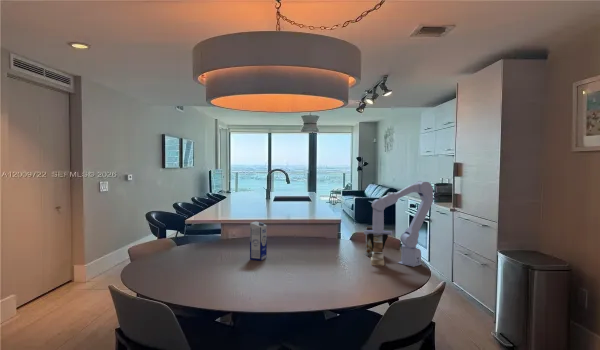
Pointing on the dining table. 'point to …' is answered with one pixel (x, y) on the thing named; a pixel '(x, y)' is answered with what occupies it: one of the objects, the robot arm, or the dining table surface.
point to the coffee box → (368, 242)
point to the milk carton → (258, 241)
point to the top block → (377, 255)
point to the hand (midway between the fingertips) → (377, 248)
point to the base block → (377, 262)
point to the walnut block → (378, 246)
